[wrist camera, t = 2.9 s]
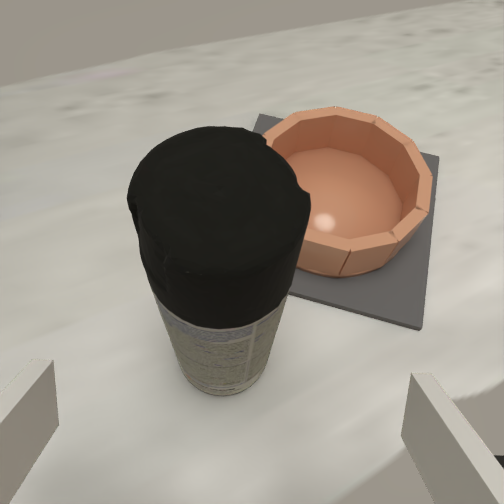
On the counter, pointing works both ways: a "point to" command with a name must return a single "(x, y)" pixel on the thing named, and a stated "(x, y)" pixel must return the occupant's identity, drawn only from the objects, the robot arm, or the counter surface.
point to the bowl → (353, 188)
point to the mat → (376, 271)
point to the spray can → (219, 248)
